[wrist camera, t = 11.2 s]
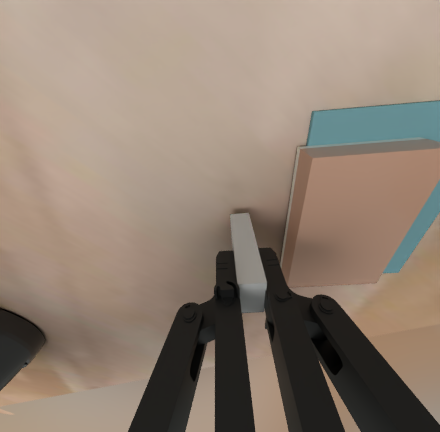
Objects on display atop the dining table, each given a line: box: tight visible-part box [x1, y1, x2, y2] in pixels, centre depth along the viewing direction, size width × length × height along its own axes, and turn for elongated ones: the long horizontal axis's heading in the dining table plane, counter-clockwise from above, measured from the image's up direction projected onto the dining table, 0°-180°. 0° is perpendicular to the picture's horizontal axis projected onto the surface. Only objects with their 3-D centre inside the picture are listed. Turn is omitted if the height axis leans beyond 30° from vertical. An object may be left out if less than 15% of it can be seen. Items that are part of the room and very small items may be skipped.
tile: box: [280, 137, 440, 288], centre depth 15 cm, size 2×12×8 cm
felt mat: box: [306, 101, 440, 273], centre depth 16 cm, size 12×16×1 cm
